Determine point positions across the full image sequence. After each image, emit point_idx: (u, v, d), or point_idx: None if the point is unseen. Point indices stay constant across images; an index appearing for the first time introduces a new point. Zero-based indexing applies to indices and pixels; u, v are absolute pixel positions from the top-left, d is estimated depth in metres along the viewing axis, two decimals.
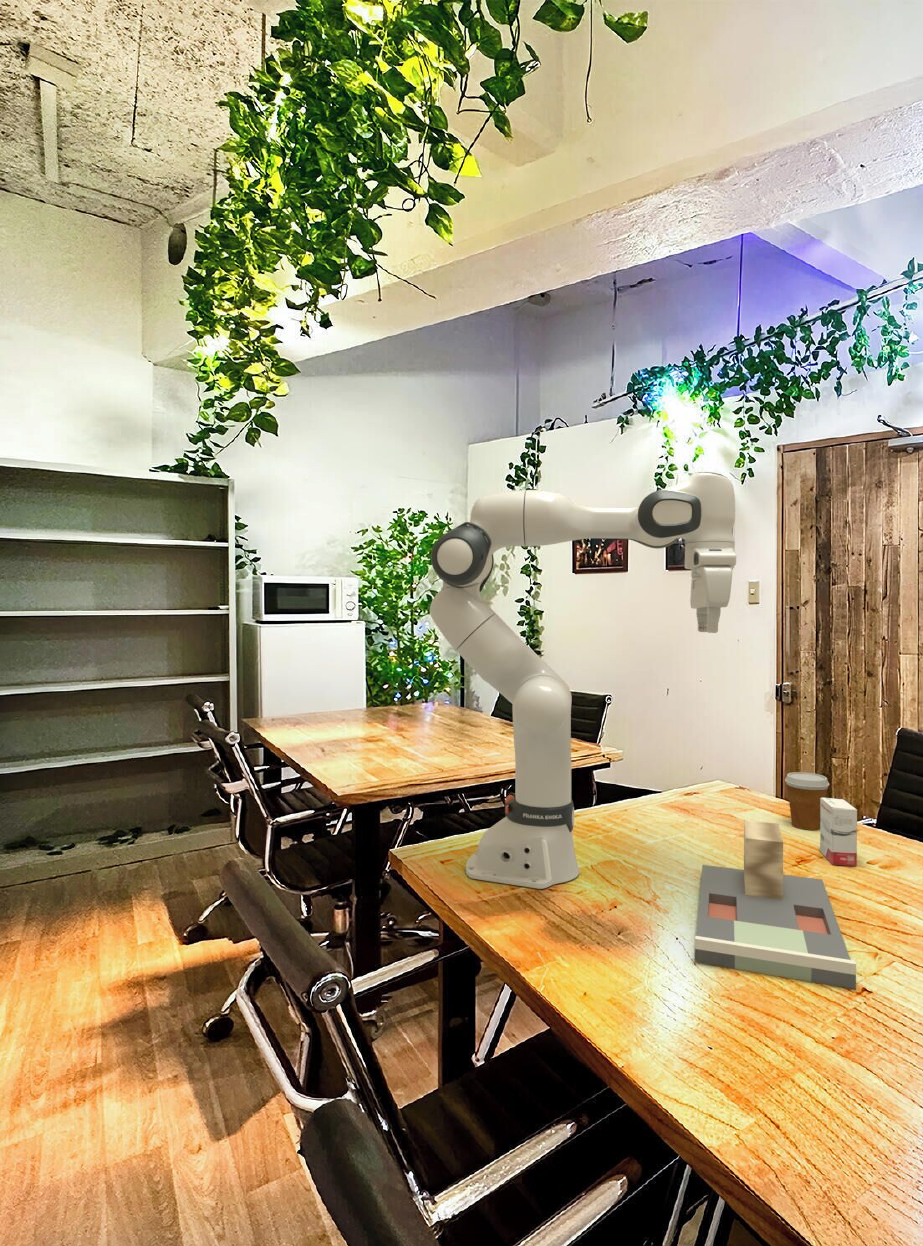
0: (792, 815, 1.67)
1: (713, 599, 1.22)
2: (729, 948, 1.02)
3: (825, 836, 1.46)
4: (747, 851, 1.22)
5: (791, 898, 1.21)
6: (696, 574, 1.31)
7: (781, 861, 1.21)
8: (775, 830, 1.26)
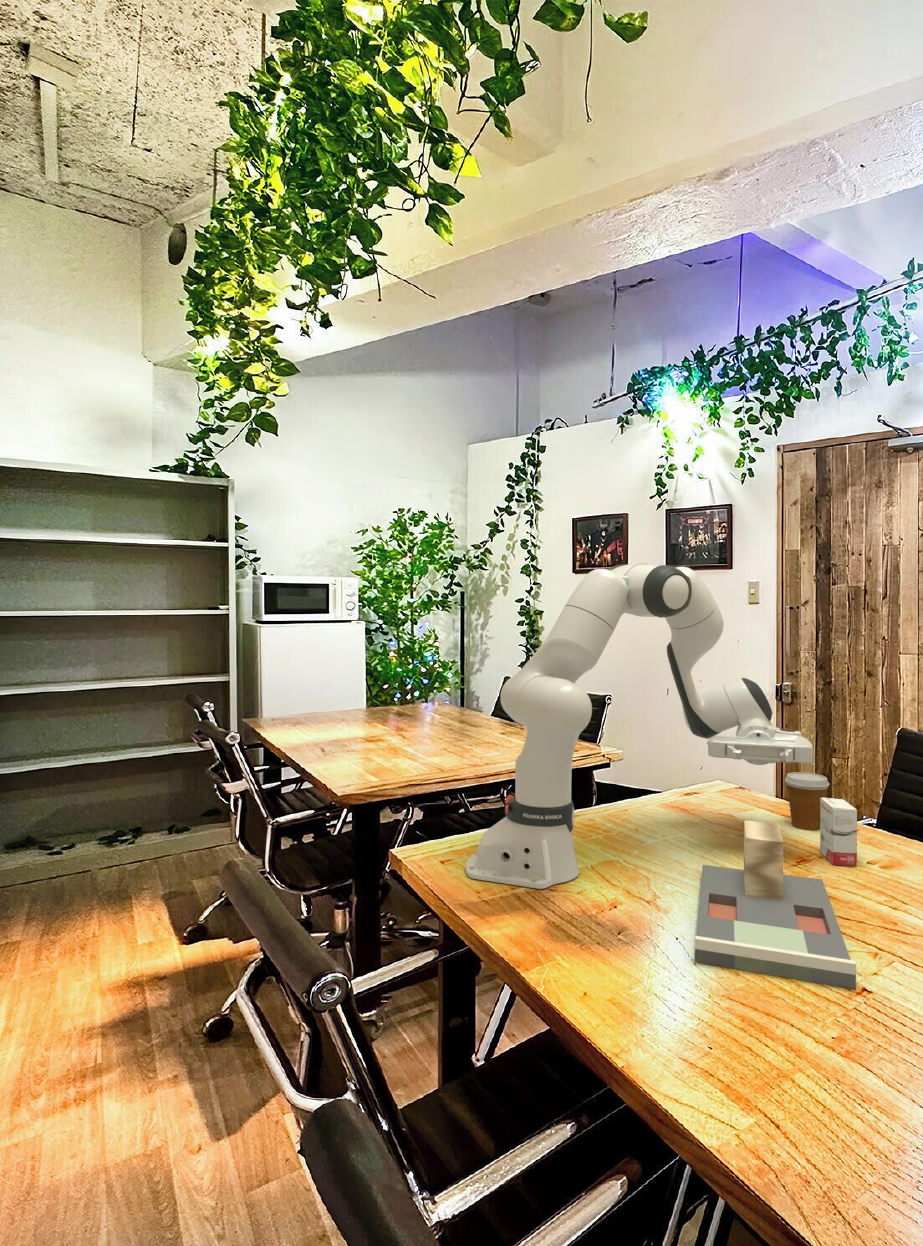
0: (792, 815, 1.67)
1: (812, 750, 1.42)
2: (729, 948, 1.02)
3: (825, 836, 1.46)
4: (747, 851, 1.22)
5: (791, 898, 1.21)
6: (767, 735, 1.50)
7: (781, 861, 1.21)
8: (775, 830, 1.26)
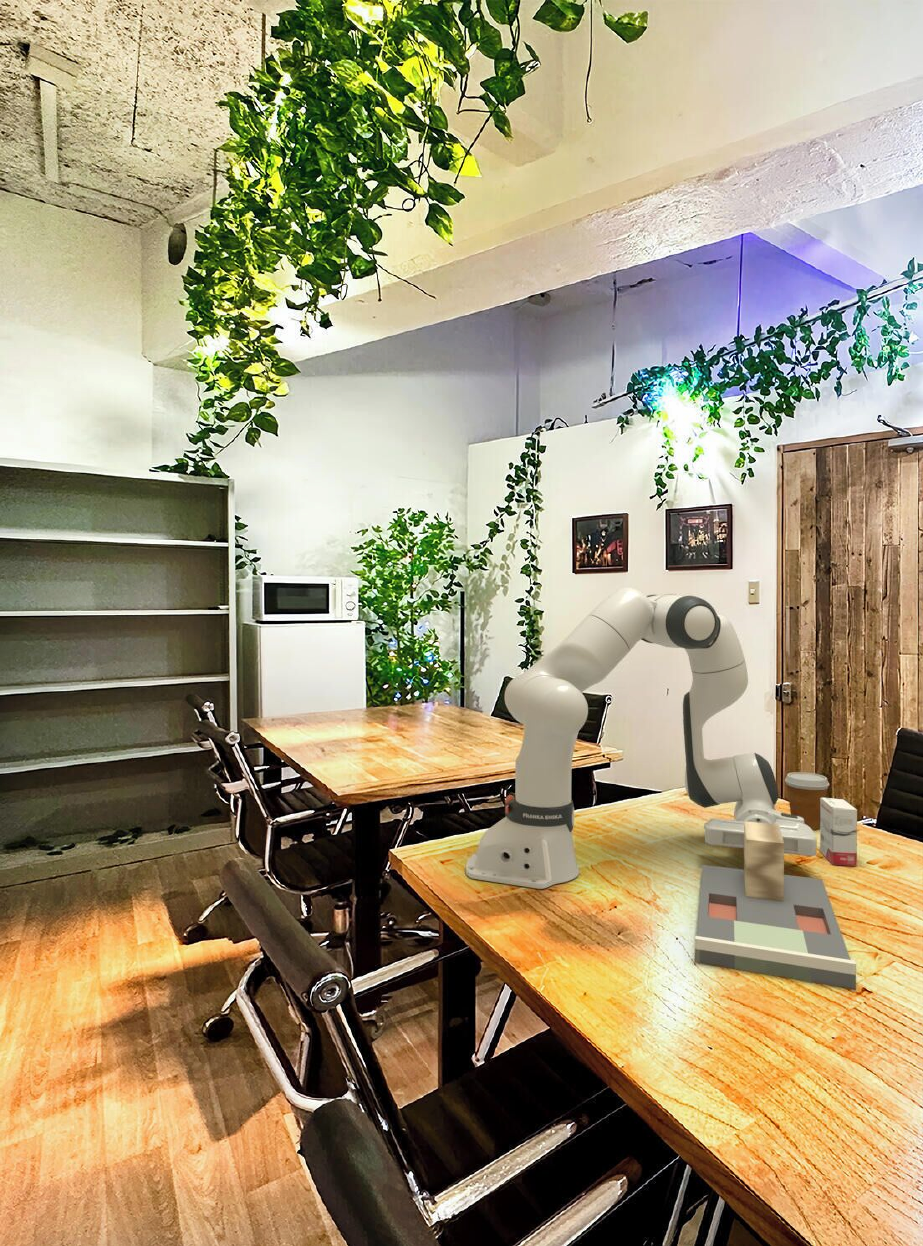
0: None
1: (816, 842, 1.33)
2: (729, 948, 1.02)
3: (825, 836, 1.46)
4: (747, 852, 1.22)
5: (791, 898, 1.21)
6: (768, 820, 1.41)
7: (782, 862, 1.20)
8: (775, 831, 1.26)
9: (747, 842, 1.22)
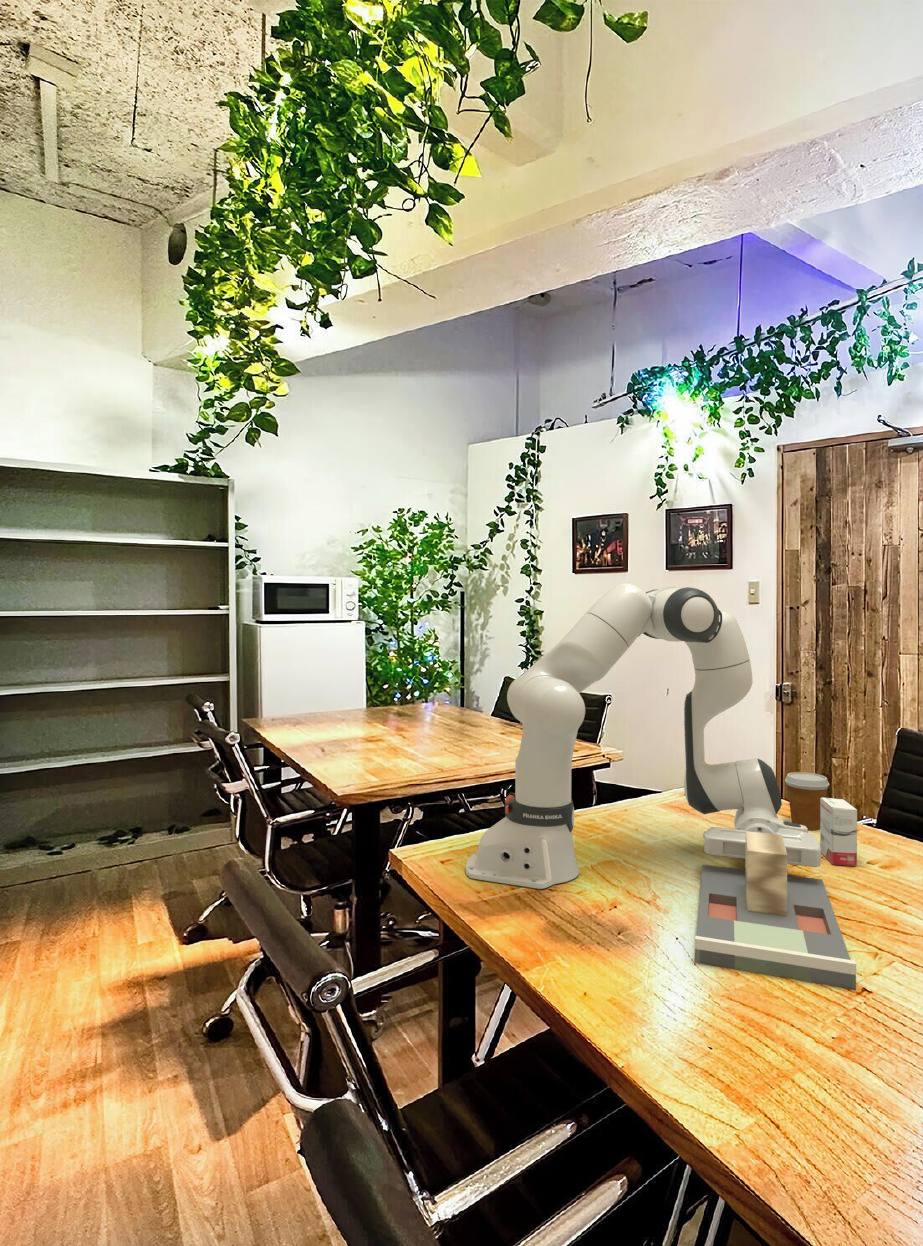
0: (792, 815, 1.67)
1: (820, 852, 1.27)
2: (729, 948, 1.02)
3: (825, 836, 1.46)
4: (749, 864, 1.16)
5: (791, 898, 1.21)
6: (770, 829, 1.35)
7: (785, 875, 1.14)
8: (778, 842, 1.20)
9: (749, 854, 1.16)
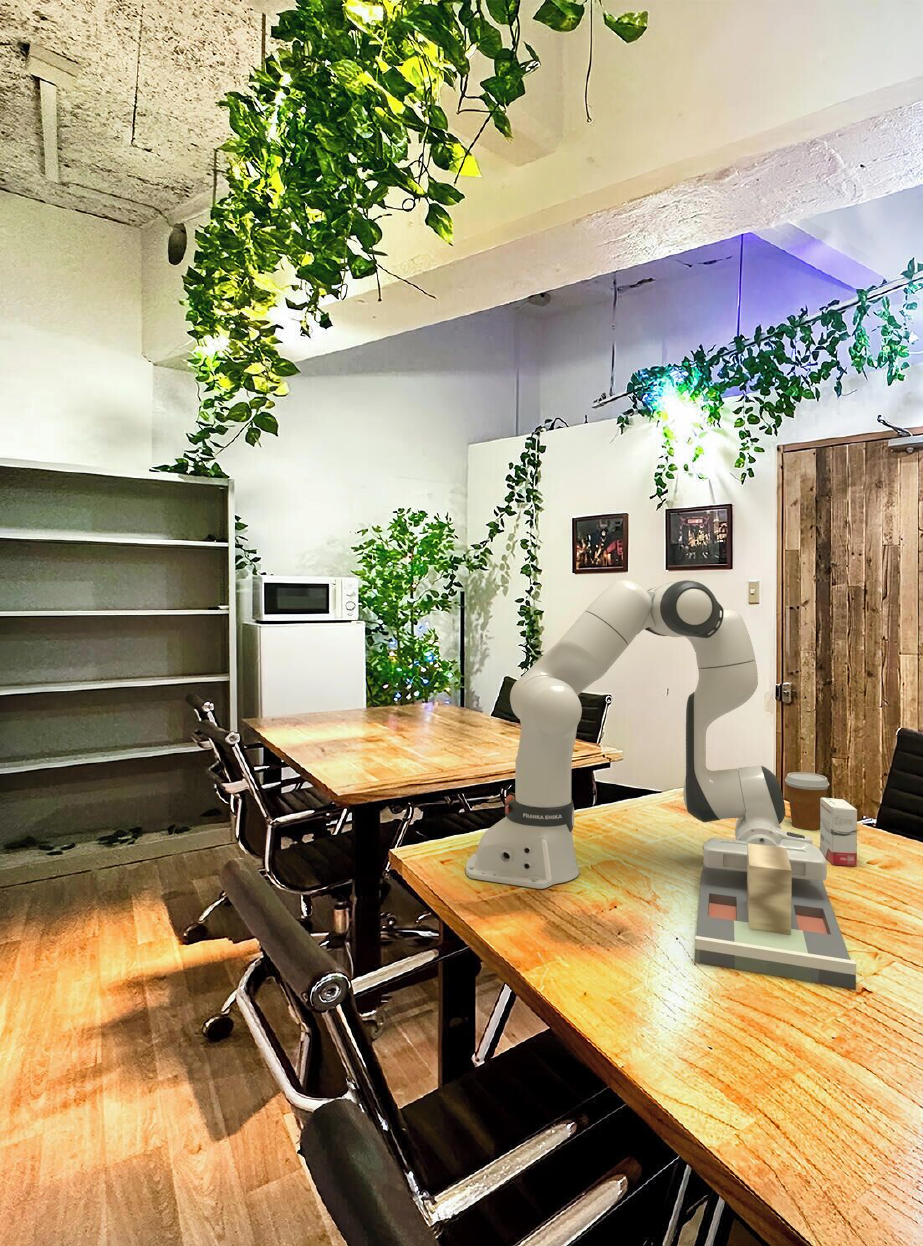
0: (792, 815, 1.67)
1: (826, 865, 1.21)
2: (729, 948, 1.02)
3: (825, 836, 1.46)
4: (751, 880, 1.09)
5: (791, 898, 1.21)
6: (772, 841, 1.28)
7: (789, 892, 1.08)
8: (782, 856, 1.13)
9: (750, 869, 1.09)
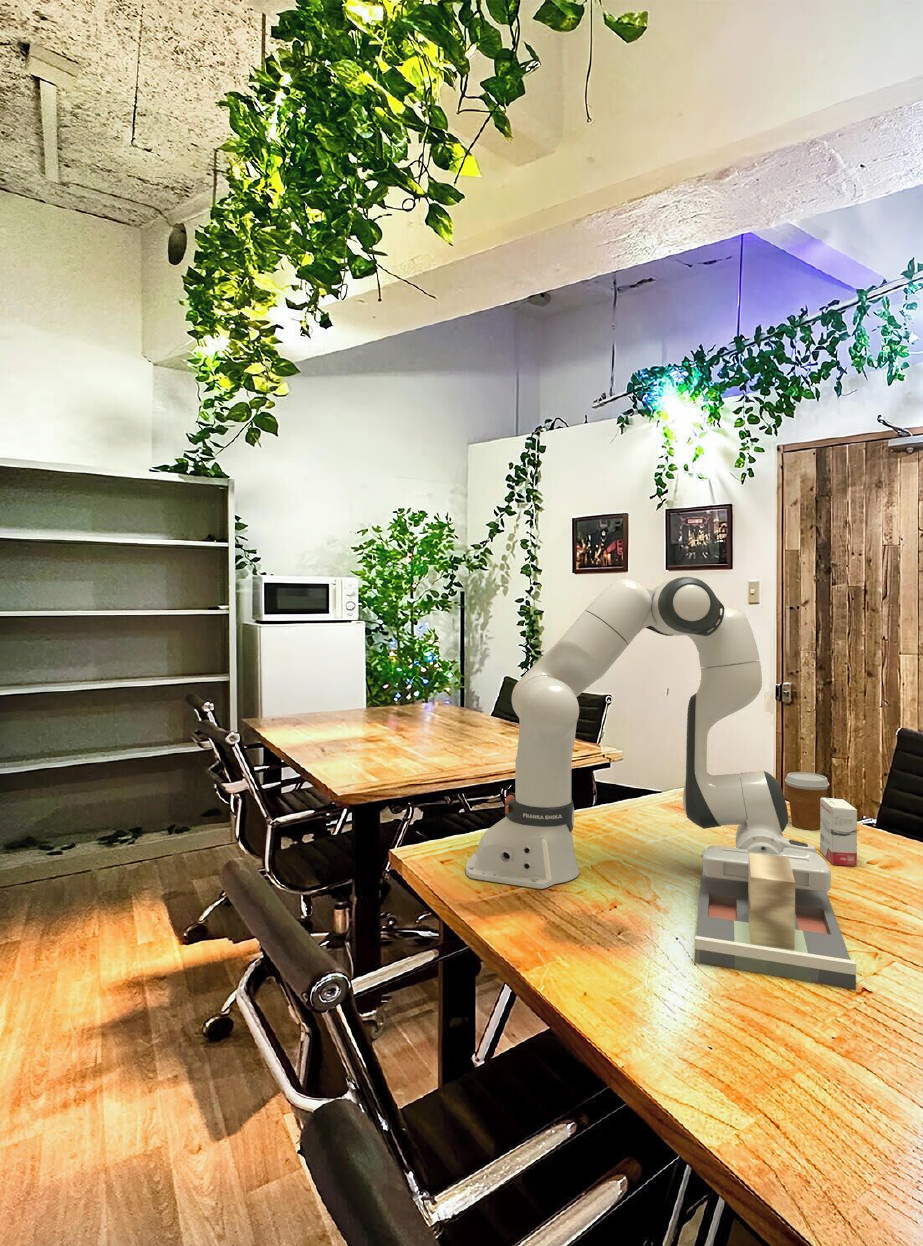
0: (792, 815, 1.67)
1: (830, 875, 1.16)
2: (729, 948, 1.02)
3: (825, 836, 1.46)
4: (753, 892, 1.05)
5: None
6: (774, 849, 1.24)
7: (793, 905, 1.03)
8: (784, 867, 1.09)
9: (752, 880, 1.05)
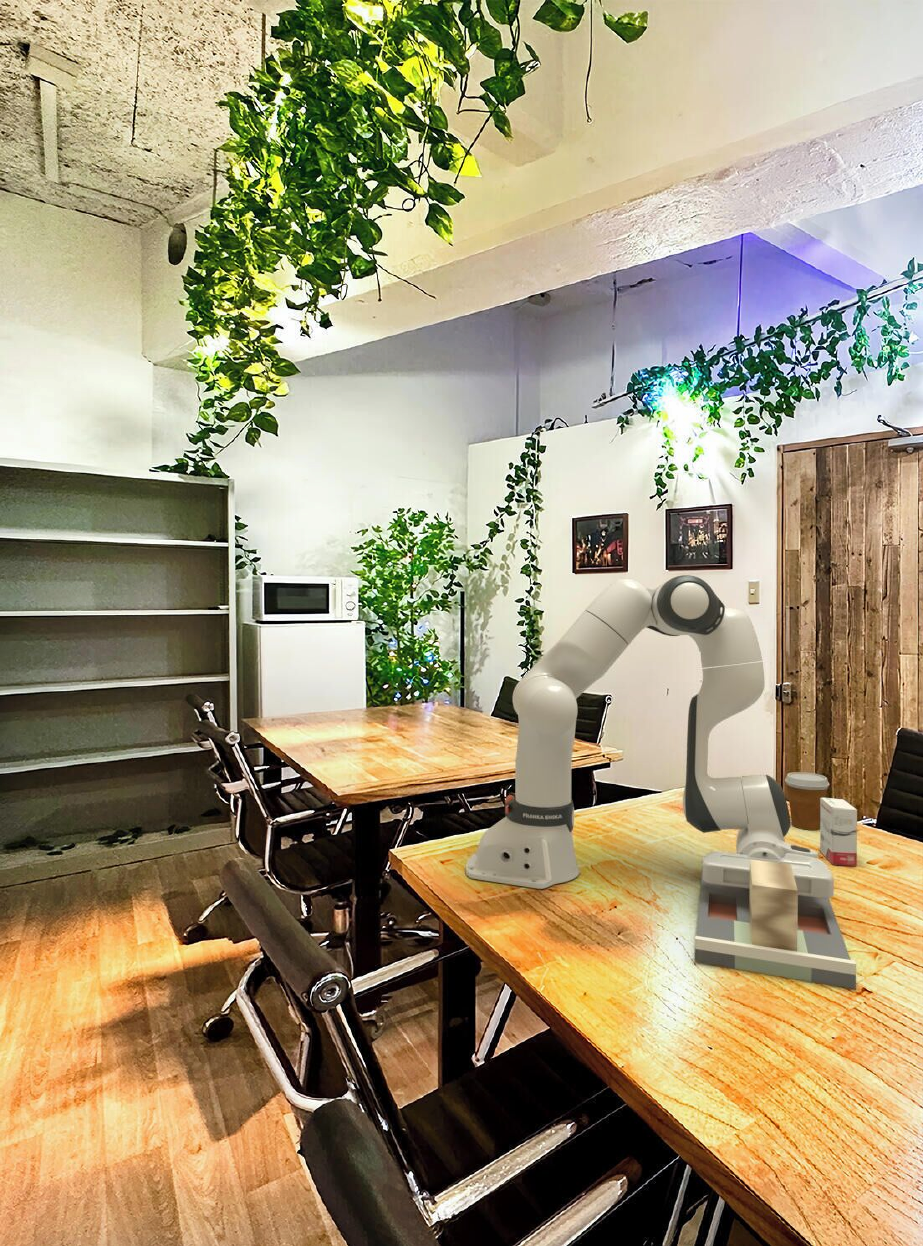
0: (792, 815, 1.67)
1: (833, 882, 1.13)
2: (729, 948, 1.02)
3: (825, 836, 1.46)
4: (754, 900, 1.02)
5: None
6: (776, 855, 1.21)
7: (795, 913, 1.00)
8: (787, 874, 1.06)
9: (753, 888, 1.02)
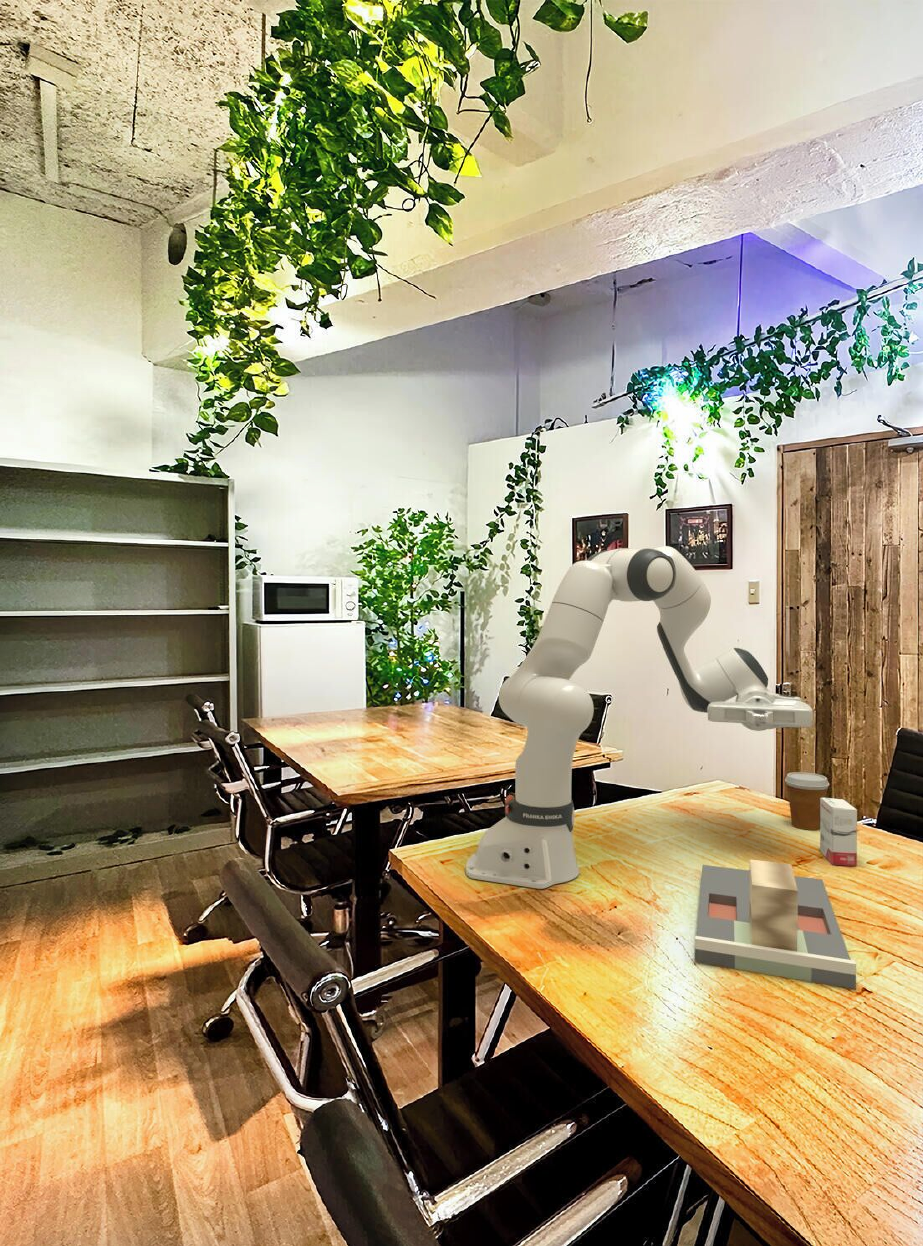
0: (792, 815, 1.67)
1: (812, 713, 1.42)
2: (729, 948, 1.02)
3: (825, 836, 1.46)
4: (754, 900, 1.02)
5: None
6: (767, 700, 1.50)
7: (795, 913, 1.00)
8: (787, 874, 1.06)
9: (753, 888, 1.02)
